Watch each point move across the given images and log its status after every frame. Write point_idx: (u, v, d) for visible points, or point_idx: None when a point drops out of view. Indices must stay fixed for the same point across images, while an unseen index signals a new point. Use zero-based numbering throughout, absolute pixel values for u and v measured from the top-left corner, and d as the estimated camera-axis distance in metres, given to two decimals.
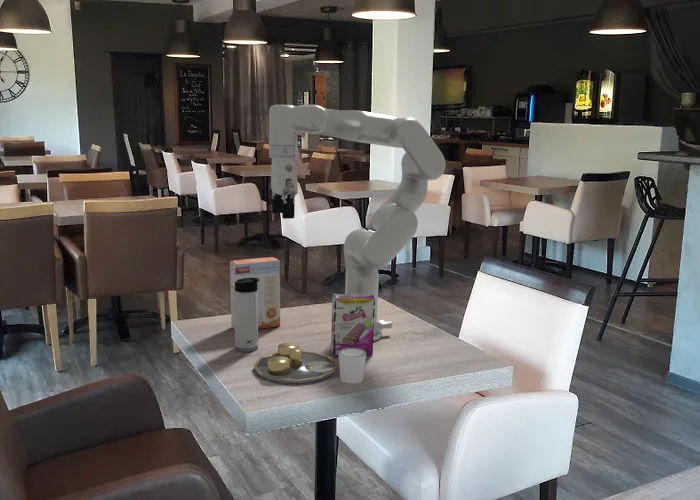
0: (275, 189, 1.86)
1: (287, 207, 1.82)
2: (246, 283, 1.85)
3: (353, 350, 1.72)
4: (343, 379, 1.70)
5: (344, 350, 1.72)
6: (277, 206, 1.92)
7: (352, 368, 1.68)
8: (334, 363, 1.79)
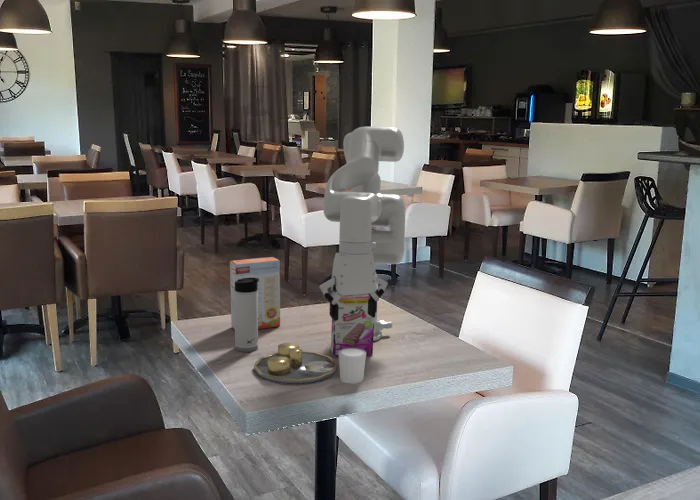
0: (357, 290, 1.65)
1: None
2: (246, 283, 1.85)
3: (353, 350, 1.72)
4: (343, 379, 1.70)
5: (344, 350, 1.72)
6: None
7: (352, 368, 1.68)
8: (334, 363, 1.79)
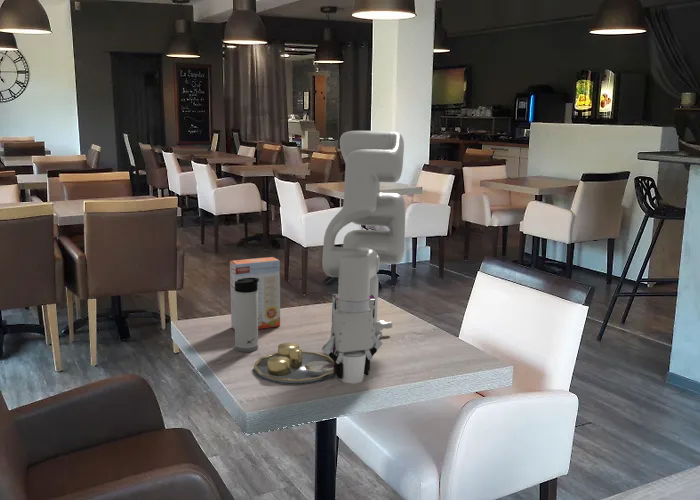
0: (356, 347, 1.68)
1: None
2: (246, 283, 1.85)
3: None
4: (343, 379, 1.70)
5: None
6: None
7: (352, 367, 1.68)
8: None
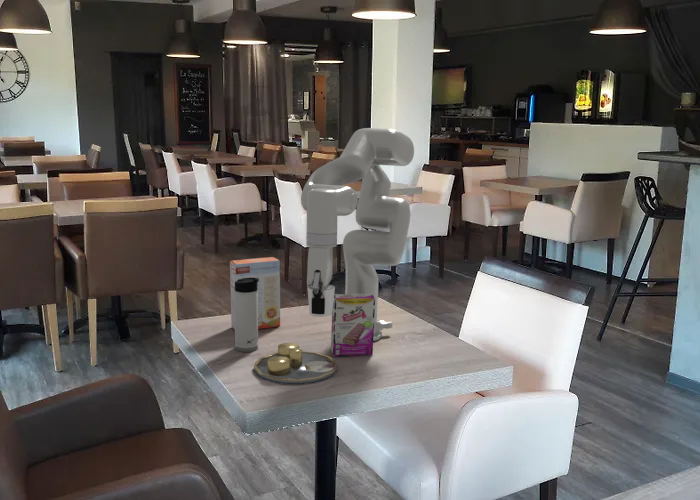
0: (329, 279, 1.72)
1: None
2: (246, 283, 1.85)
3: None
4: (322, 314, 1.71)
5: (312, 287, 1.71)
6: None
7: (331, 299, 1.71)
8: (334, 363, 1.79)
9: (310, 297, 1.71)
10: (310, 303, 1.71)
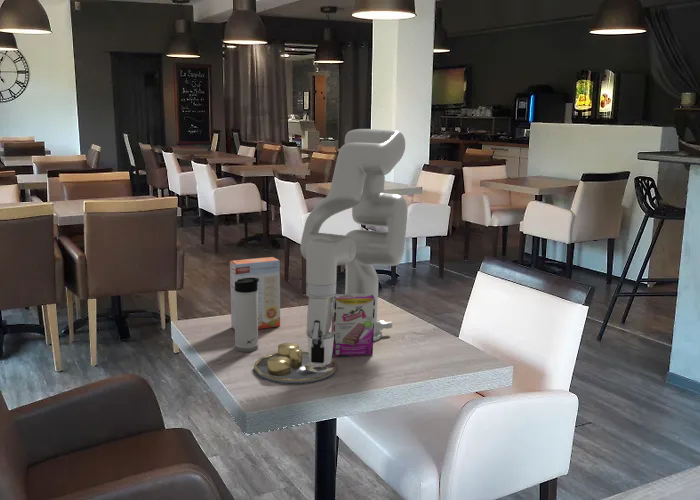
0: (329, 327, 1.74)
1: None
2: (246, 283, 1.85)
3: None
4: None
5: (311, 336, 1.74)
6: None
7: (331, 348, 1.74)
8: (334, 363, 1.79)
9: (310, 346, 1.74)
10: (310, 351, 1.74)
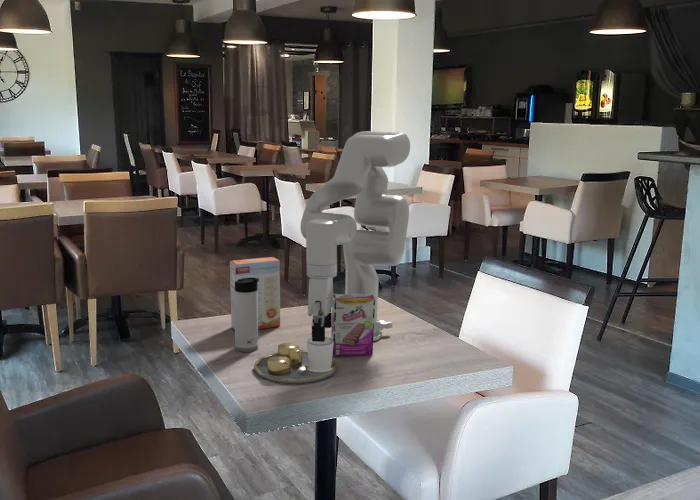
0: (330, 307, 1.74)
1: None
2: (246, 283, 1.85)
3: None
4: (322, 368, 1.73)
5: (311, 342, 1.74)
6: None
7: (330, 353, 1.74)
8: (334, 363, 1.79)
9: (309, 352, 1.73)
10: (309, 357, 1.74)
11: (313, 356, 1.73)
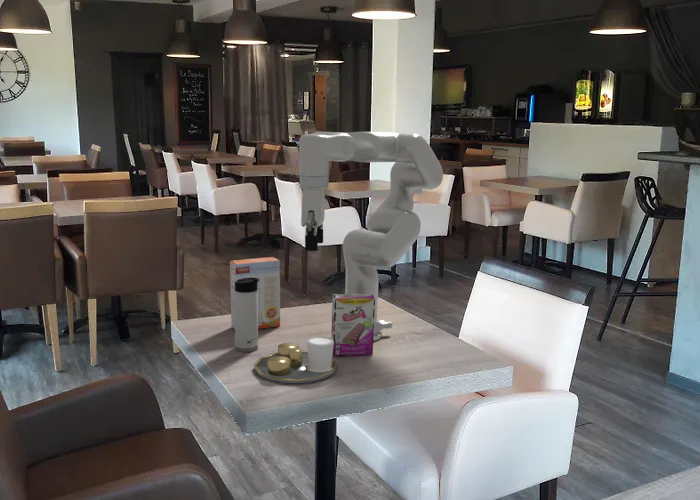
0: (322, 220, 1.82)
1: None
2: (246, 283, 1.85)
3: (315, 339, 1.76)
4: (322, 368, 1.73)
5: (311, 342, 1.74)
6: None
7: (330, 353, 1.74)
8: (334, 363, 1.79)
9: (309, 352, 1.73)
10: (309, 357, 1.74)
11: (313, 356, 1.73)
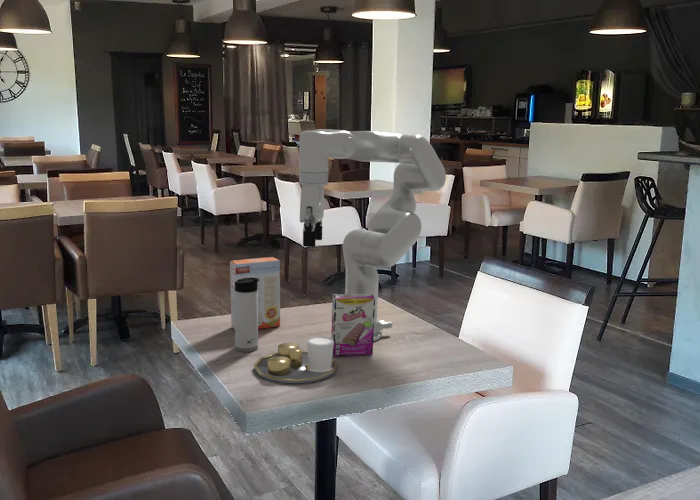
0: (321, 216, 1.83)
1: None
2: (246, 283, 1.85)
3: (315, 339, 1.76)
4: (322, 368, 1.73)
5: (311, 342, 1.74)
6: None
7: (330, 353, 1.74)
8: (334, 363, 1.79)
9: (309, 352, 1.73)
10: (310, 357, 1.74)
11: (313, 356, 1.73)
